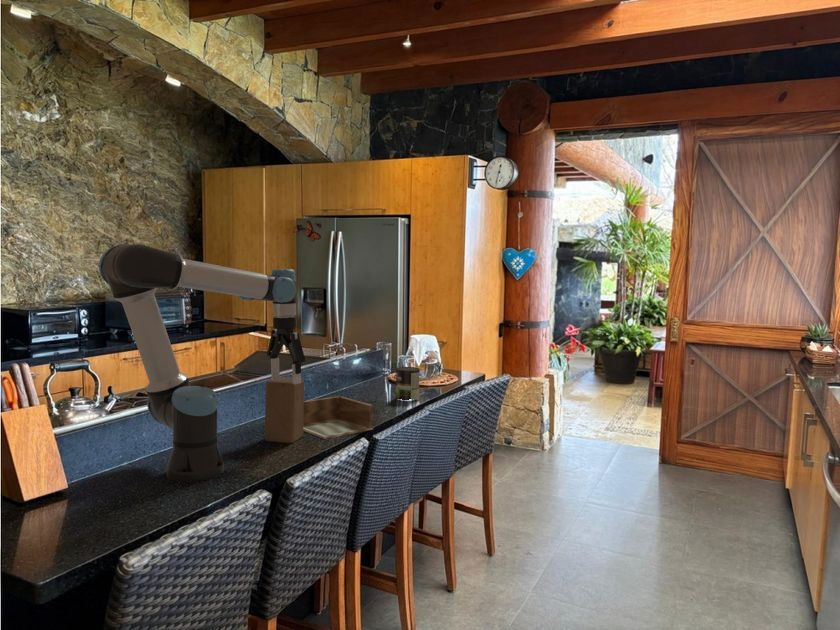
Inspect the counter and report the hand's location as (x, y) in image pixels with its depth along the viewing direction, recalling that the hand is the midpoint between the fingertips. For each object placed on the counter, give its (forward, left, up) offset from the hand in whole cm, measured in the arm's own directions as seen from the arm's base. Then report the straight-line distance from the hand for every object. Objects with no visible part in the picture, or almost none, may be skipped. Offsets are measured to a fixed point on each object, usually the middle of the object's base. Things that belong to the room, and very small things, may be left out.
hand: (285, 380), depth 211 cm
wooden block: (0, 0, -20) cm, 20 cm away
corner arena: (+20, +1, -20) cm, 28 cm away
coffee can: (+72, +21, -20) cm, 77 cm away
